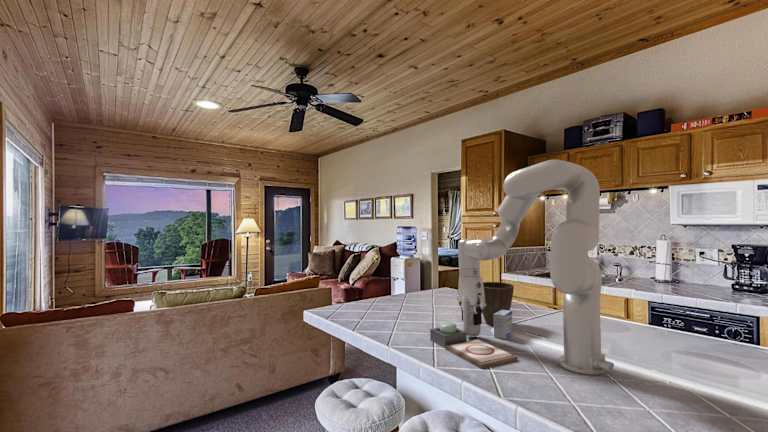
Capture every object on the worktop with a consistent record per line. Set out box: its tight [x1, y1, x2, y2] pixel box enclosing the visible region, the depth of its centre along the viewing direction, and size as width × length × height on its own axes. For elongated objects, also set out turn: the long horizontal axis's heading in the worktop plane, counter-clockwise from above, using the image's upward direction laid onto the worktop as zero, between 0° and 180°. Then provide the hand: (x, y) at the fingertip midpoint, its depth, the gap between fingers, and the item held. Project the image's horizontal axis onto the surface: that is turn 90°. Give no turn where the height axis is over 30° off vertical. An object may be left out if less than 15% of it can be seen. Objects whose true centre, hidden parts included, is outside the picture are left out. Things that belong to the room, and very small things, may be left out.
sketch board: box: [445, 338, 518, 369], centre depth 117 cm, size 18×14×2 cm
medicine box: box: [493, 310, 513, 340], centre depth 135 cm, size 8×4×9 cm, turn 143°
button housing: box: [429, 326, 468, 348], centre depth 129 cm, size 9×9×4 cm
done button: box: [439, 322, 457, 334], centre depth 129 cm, size 6×6×3 cm
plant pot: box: [481, 281, 515, 327], centre depth 150 cm, size 15×15×16 cm
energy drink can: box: [462, 295, 482, 337], centre depth 133 cm, size 6×6×15 cm
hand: (471, 322), depth 133 cm, fingers closed on energy drink can, 6 cm apart
